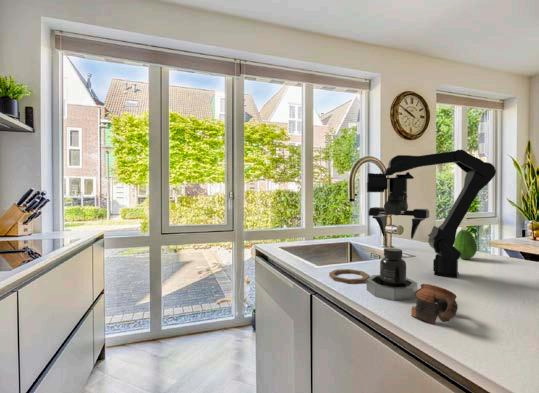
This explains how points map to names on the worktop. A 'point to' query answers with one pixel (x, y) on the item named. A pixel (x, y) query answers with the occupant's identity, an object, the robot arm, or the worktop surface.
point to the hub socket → (391, 289)
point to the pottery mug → (434, 304)
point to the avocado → (465, 244)
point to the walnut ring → (345, 280)
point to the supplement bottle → (393, 268)
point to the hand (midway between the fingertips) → (397, 237)
